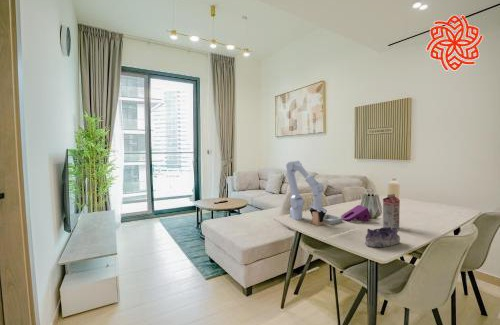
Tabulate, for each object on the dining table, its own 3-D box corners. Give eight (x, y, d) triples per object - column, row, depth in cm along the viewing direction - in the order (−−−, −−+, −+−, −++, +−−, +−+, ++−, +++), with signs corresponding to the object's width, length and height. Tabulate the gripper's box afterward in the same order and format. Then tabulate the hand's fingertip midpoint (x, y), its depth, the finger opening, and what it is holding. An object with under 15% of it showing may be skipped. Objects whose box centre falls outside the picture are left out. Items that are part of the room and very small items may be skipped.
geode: (379, 252, 120) (376, 232, 120) (360, 246, 130) (358, 228, 131) (405, 243, 128) (402, 224, 128) (385, 238, 138) (383, 221, 139)
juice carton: (382, 226, 156) (383, 194, 155) (389, 225, 159) (390, 193, 157) (392, 229, 150) (392, 195, 149) (399, 228, 153) (399, 194, 151)
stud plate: (308, 224, 165) (308, 218, 164) (317, 222, 169) (317, 216, 169) (317, 227, 157) (317, 221, 157) (327, 225, 161) (327, 219, 161)
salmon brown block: (312, 223, 164) (312, 211, 163) (317, 221, 166) (317, 210, 166) (317, 225, 160) (317, 213, 159) (323, 223, 162) (323, 212, 161)
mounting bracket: (351, 231, 166) (372, 218, 168) (346, 221, 165) (367, 207, 167) (343, 227, 175) (363, 214, 178) (338, 217, 174) (358, 204, 177)
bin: (316, 221, 171) (316, 216, 171) (327, 218, 177) (327, 213, 177) (330, 226, 160) (330, 221, 160) (342, 223, 166) (342, 218, 165)
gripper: (329, 202, 158) (330, 222, 158) (314, 198, 170) (314, 217, 171) (322, 203, 154) (322, 224, 155) (306, 199, 167) (307, 218, 168)
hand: (317, 220), depth 163 cm, fingers open, 6 cm apart
